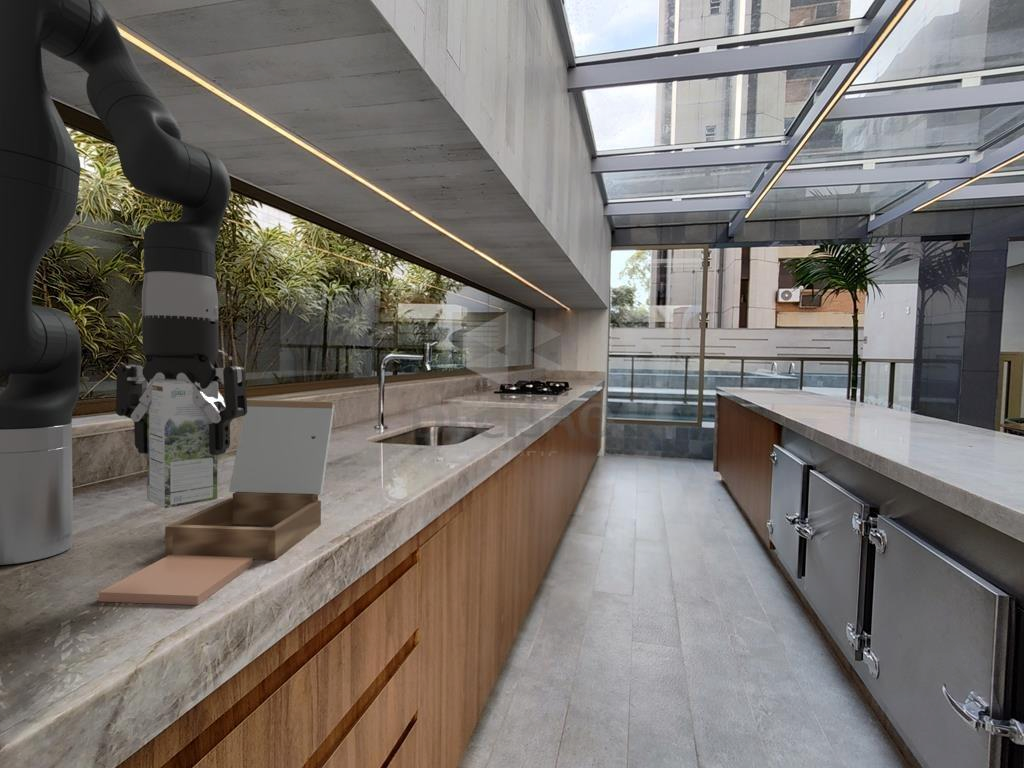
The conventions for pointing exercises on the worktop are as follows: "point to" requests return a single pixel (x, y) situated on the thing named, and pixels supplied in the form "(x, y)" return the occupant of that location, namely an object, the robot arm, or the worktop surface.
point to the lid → (283, 447)
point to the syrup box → (179, 446)
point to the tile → (177, 580)
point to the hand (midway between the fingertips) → (183, 453)
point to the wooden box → (219, 539)
